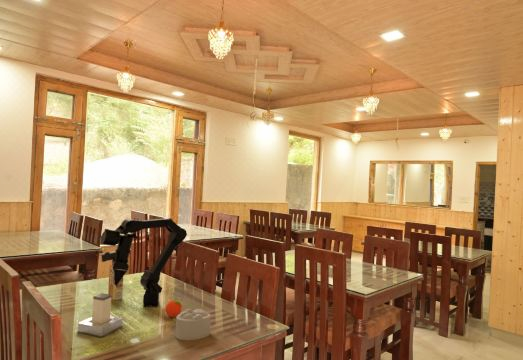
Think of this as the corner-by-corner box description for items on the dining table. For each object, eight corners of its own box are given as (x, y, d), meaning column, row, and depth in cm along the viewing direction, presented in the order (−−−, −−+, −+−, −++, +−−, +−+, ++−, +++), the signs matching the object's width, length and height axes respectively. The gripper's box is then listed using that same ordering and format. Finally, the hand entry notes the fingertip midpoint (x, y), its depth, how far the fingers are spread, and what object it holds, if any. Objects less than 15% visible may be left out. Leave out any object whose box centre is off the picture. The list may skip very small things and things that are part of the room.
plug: (99, 325, 138) (102, 293, 139) (109, 327, 137) (111, 294, 137) (91, 329, 134) (93, 296, 134) (100, 331, 133) (103, 298, 133)
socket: (99, 322, 142) (99, 313, 142) (121, 326, 139) (122, 318, 139) (77, 332, 132) (78, 323, 132) (101, 337, 129) (102, 328, 129)
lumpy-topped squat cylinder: (213, 335, 137) (214, 312, 137) (182, 343, 128) (184, 319, 128) (199, 326, 144) (200, 304, 145) (169, 333, 136) (171, 310, 136)
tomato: (186, 315, 155) (187, 299, 155) (178, 321, 149) (179, 303, 149) (170, 312, 157) (171, 296, 158) (161, 318, 151) (162, 301, 151)
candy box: (122, 299, 172) (124, 267, 173) (114, 300, 169) (116, 268, 170) (115, 294, 179) (117, 263, 179) (107, 295, 176) (109, 264, 176)
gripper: (105, 242, 163) (96, 276, 161) (104, 246, 146) (95, 284, 144) (130, 246, 168) (121, 279, 165) (132, 250, 151) (123, 288, 148)
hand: (115, 282), depth 156 cm, fingers open, 9 cm apart
